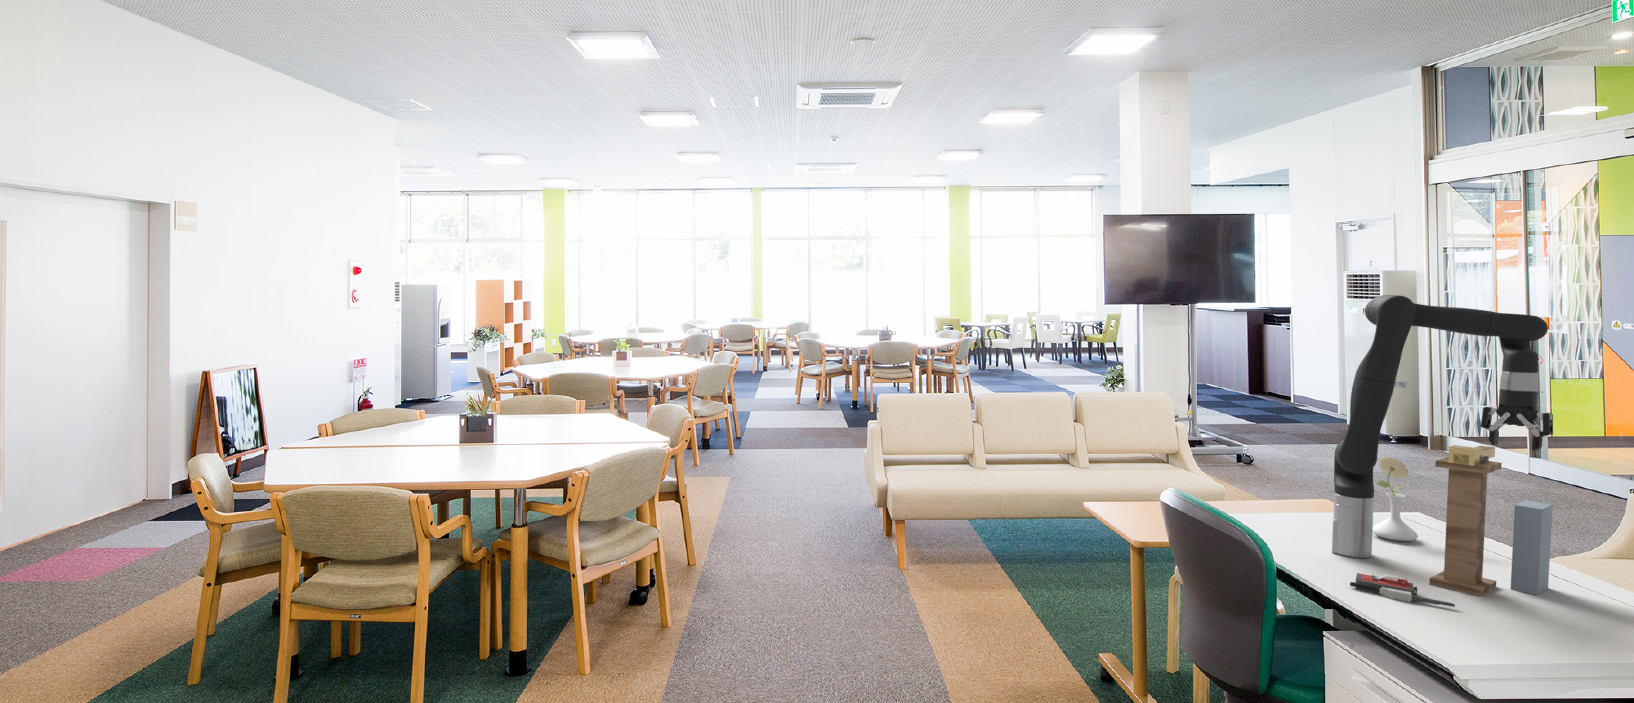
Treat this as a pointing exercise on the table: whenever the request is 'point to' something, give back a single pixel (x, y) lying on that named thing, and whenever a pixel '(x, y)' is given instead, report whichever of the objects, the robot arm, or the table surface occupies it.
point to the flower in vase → (1394, 505)
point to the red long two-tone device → (1392, 588)
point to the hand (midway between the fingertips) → (1514, 447)
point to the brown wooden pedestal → (1465, 527)
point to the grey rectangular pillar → (1531, 547)
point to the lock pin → (1469, 454)
